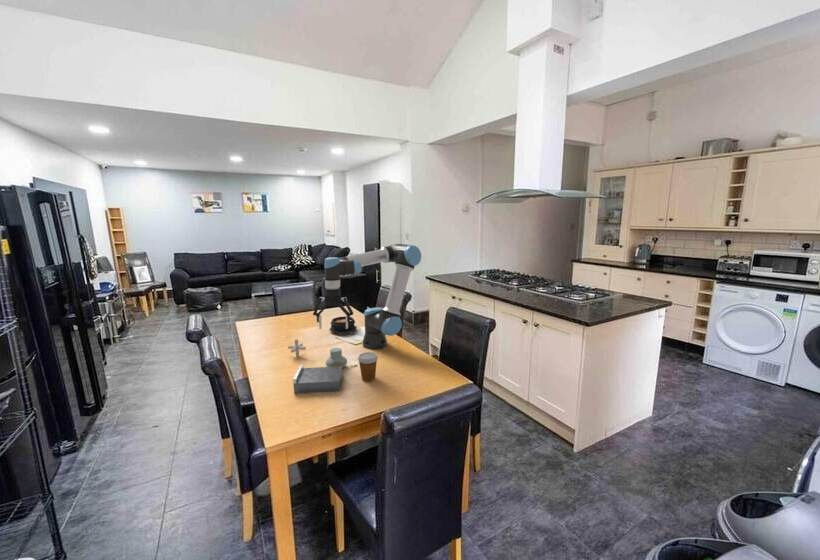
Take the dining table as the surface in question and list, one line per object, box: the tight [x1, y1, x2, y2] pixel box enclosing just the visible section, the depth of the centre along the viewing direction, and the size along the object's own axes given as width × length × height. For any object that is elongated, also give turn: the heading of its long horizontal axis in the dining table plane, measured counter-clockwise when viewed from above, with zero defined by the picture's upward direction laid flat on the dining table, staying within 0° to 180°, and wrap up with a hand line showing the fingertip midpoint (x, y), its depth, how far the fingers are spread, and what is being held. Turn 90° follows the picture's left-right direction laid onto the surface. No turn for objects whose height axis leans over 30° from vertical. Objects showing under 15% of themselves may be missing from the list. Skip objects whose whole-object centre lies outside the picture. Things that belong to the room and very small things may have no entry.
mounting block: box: [292, 363, 343, 395], centre depth 165 cm, size 20×16×7 cm
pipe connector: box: [287, 338, 307, 357], centre depth 198 cm, size 10×10×10 cm
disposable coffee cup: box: [357, 352, 379, 383], centre depth 169 cm, size 10×10×12 cm
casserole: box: [329, 316, 358, 335], centre depth 241 cm, size 25×19×8 cm
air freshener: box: [325, 347, 348, 369], centre depth 182 cm, size 11×8×10 cm
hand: (333, 328), depth 180 cm, fingers open, 13 cm apart
